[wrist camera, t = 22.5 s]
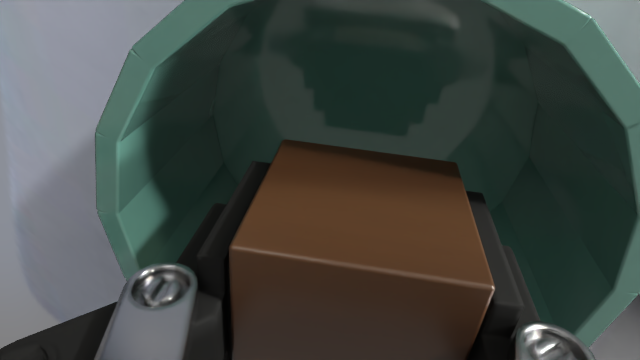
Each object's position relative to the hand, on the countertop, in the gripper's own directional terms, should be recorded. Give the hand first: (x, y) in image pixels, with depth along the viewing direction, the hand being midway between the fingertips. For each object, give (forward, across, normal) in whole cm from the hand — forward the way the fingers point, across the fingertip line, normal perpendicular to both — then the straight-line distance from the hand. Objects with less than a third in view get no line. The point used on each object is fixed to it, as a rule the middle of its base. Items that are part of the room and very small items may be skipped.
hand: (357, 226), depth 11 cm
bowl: (+6, 0, 0) cm, 6 cm away
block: (0, 0, 0) cm, 0 cm away
